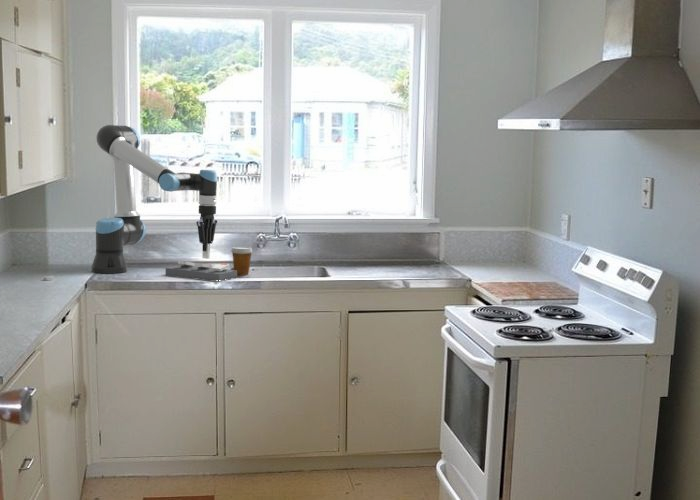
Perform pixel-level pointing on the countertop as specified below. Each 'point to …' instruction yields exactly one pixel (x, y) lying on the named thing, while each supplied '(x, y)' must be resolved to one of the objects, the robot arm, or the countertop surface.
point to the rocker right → (220, 267)
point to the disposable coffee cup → (241, 259)
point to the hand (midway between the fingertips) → (205, 258)
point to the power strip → (200, 272)
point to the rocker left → (186, 263)
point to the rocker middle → (203, 265)
